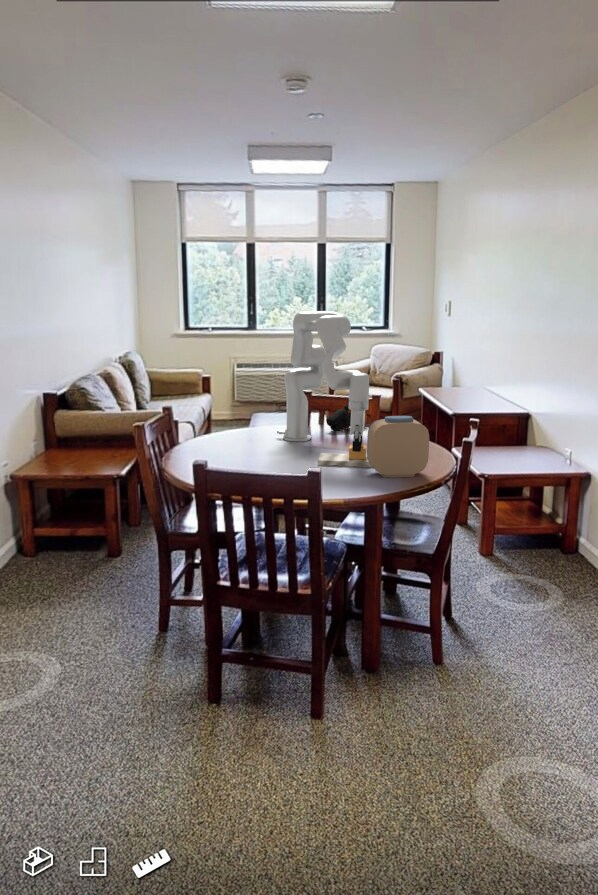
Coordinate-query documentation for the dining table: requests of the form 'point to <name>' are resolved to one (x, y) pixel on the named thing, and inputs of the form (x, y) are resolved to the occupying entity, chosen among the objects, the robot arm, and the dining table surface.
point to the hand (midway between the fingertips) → (357, 448)
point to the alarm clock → (398, 446)
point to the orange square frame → (357, 453)
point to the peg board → (341, 460)
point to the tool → (341, 419)
